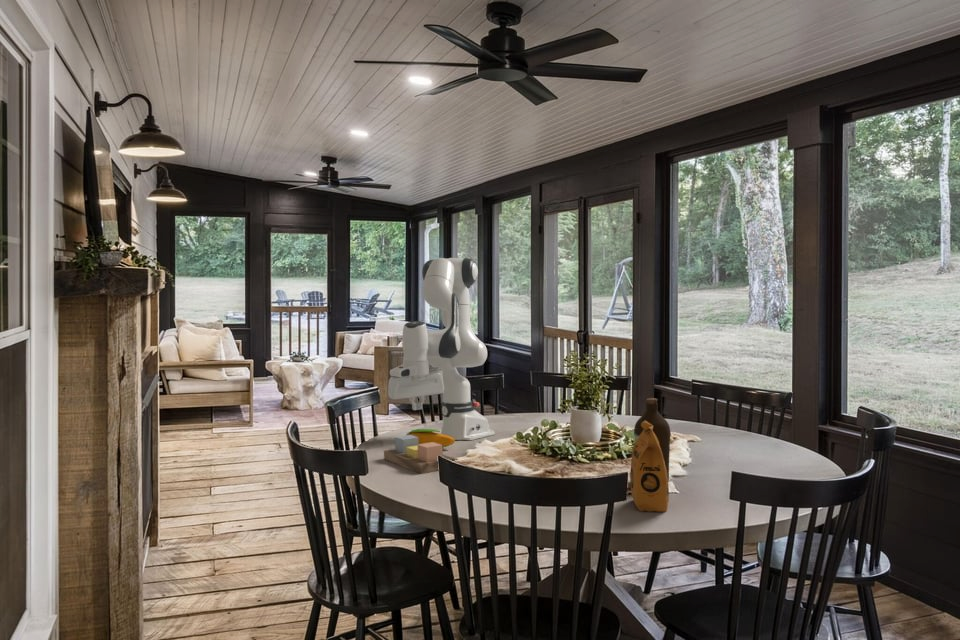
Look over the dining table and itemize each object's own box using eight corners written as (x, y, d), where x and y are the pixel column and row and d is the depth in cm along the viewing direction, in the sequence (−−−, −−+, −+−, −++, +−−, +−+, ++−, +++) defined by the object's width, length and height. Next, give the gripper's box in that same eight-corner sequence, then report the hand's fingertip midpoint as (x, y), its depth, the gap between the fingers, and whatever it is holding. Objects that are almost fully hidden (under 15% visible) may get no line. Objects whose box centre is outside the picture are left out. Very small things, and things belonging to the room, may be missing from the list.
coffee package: (631, 512, 186) (630, 428, 185) (630, 498, 198) (629, 419, 197) (670, 513, 184) (669, 429, 183) (667, 499, 196) (666, 420, 195)
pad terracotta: (433, 456, 241) (433, 442, 241) (442, 459, 236) (442, 445, 236) (417, 459, 238) (417, 444, 237) (427, 462, 233) (426, 447, 233)
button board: (416, 453, 258) (416, 445, 258) (455, 467, 237) (454, 458, 236) (384, 459, 251) (383, 450, 250) (421, 473, 229) (420, 464, 229)
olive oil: (664, 475, 221) (663, 395, 219) (675, 485, 210) (674, 400, 209) (630, 477, 220) (629, 396, 219) (640, 486, 209) (639, 402, 208)
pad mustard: (421, 458, 248) (421, 444, 248) (430, 462, 243) (430, 447, 243) (406, 461, 244) (406, 447, 244) (415, 464, 239) (414, 450, 239)
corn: (408, 425, 272) (458, 427, 266) (409, 444, 273) (459, 447, 267) (401, 430, 265) (451, 432, 259) (402, 450, 266) (452, 453, 260)
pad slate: (410, 448, 254) (410, 434, 254) (418, 451, 249) (418, 437, 249) (395, 451, 251) (395, 436, 251) (403, 454, 246) (403, 439, 246)
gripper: (437, 365, 251) (438, 404, 251) (385, 371, 239) (386, 411, 240) (446, 367, 245) (448, 407, 246) (394, 372, 234) (395, 414, 235)
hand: (417, 409), depth 243 cm, fingers closed
